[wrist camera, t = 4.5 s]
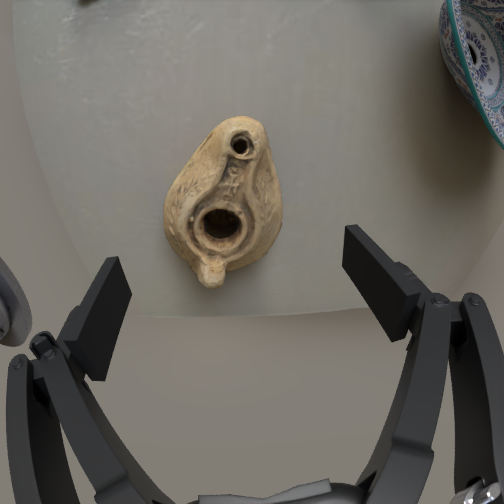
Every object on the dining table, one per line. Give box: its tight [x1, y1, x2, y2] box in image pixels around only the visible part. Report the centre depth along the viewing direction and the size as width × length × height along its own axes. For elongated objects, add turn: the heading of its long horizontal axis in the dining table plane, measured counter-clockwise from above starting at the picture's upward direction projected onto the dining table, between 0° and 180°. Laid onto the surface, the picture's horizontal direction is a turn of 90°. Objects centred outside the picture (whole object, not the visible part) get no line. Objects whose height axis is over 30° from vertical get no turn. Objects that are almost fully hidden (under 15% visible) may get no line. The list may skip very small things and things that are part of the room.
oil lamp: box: [164, 116, 283, 289], centre depth 24 cm, size 11×15×8 cm
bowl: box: [439, 0, 504, 149], centre depth 16 cm, size 25×25×10 cm
